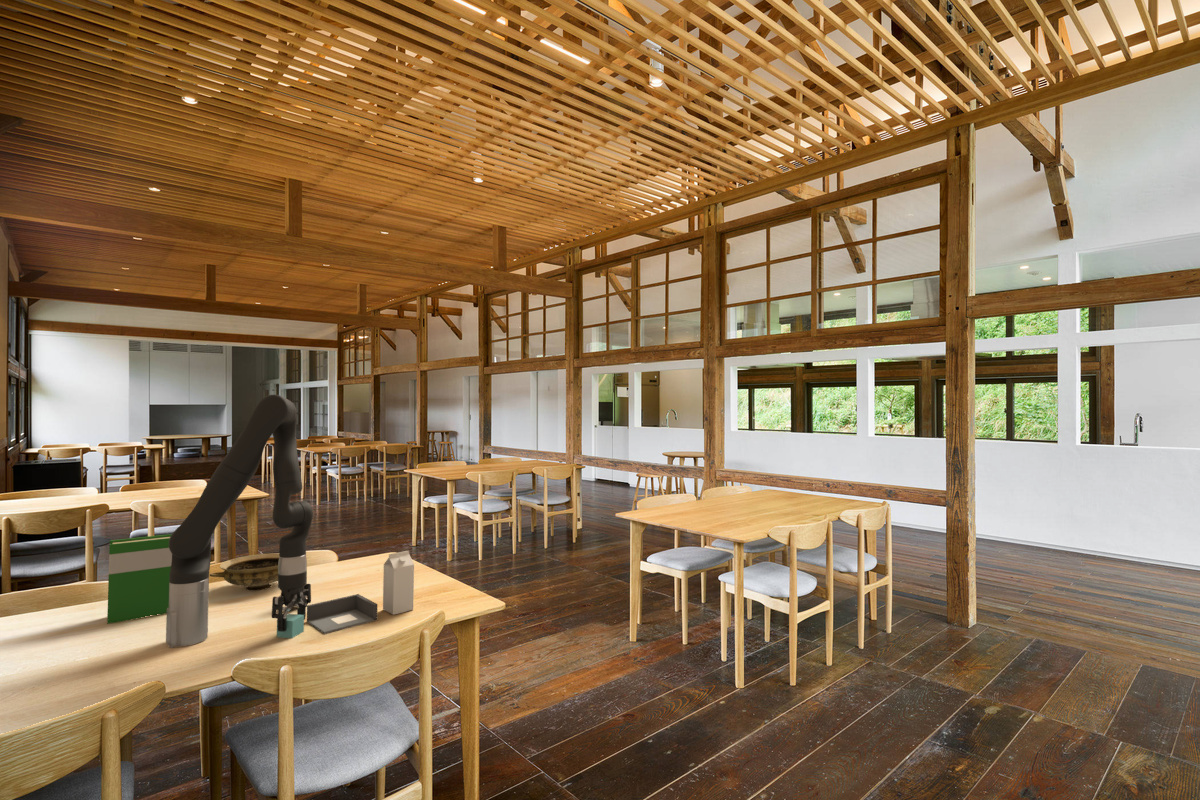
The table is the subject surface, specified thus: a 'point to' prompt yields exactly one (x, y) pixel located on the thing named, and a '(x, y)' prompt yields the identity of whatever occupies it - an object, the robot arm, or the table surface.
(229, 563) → the ceramic bowl
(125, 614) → the hardback book
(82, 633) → the table surface
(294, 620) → the cube
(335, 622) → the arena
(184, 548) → the robot arm
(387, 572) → the milk carton
